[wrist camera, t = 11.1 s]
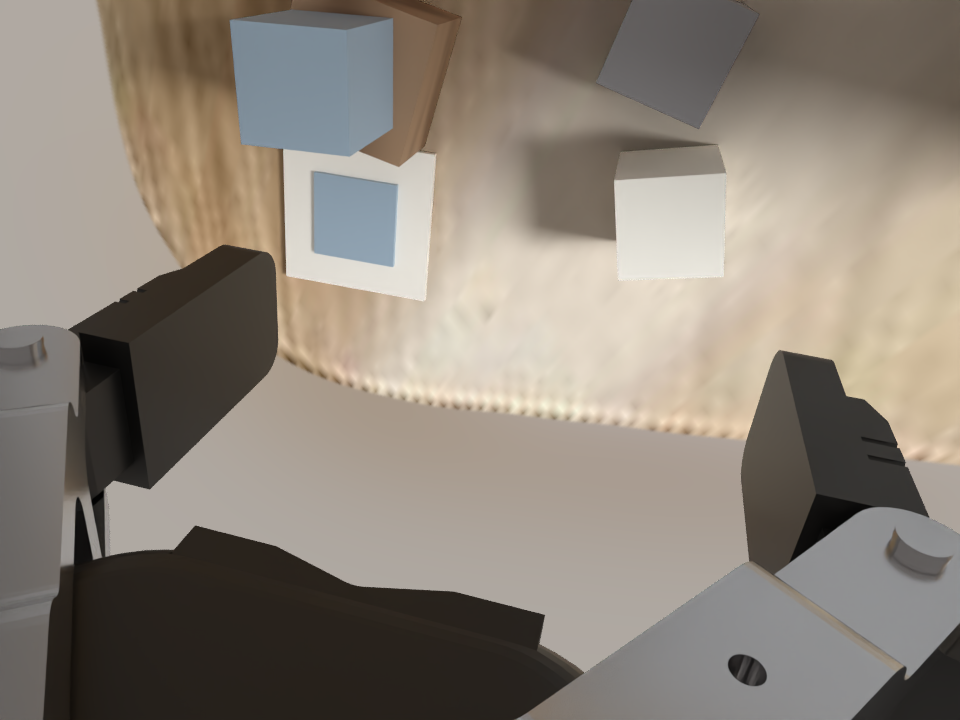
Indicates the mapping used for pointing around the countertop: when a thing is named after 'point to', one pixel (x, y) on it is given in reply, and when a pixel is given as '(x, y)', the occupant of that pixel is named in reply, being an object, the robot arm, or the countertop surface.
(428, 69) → the walnut base
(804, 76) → the countertop surface
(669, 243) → the white block
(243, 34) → the slate block
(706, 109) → the grey block
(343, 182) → the card
